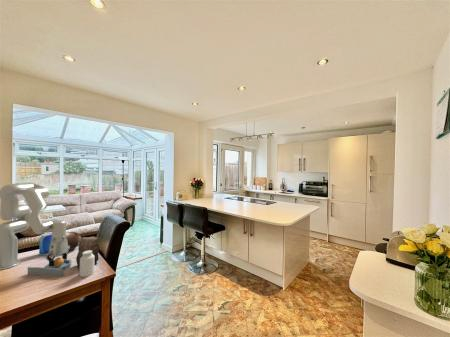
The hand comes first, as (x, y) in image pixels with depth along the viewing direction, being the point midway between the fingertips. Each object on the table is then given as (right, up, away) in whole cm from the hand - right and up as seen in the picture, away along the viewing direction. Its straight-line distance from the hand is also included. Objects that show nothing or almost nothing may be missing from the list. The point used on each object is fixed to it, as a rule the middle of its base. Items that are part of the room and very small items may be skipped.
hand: (58, 262), depth 132 cm
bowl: (0, -4, 0) cm, 4 cm away
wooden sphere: (-16, -4, +29) cm, 34 cm away
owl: (+17, -4, +3) cm, 18 cm away
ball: (0, 0, 0) cm, 0 cm away
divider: (-1, -4, -9) cm, 10 cm away
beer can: (-29, -4, +21) cm, 36 cm away
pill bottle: (+26, -5, -7) cm, 27 cm away
